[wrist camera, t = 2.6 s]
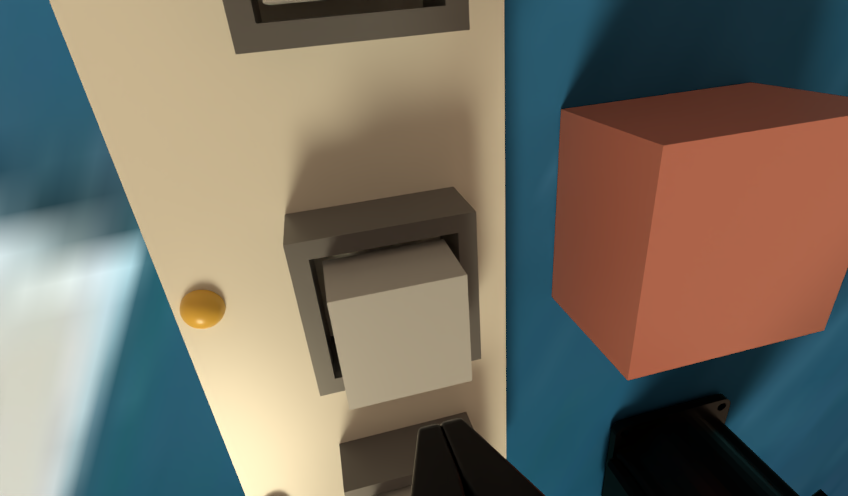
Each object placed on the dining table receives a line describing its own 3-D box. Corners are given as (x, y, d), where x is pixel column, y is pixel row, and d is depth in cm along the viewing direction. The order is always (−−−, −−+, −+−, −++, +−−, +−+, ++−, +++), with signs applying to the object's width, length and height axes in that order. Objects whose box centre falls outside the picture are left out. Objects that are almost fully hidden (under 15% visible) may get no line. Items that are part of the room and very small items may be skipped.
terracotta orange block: (751, 82, 17) (908, 105, 13) (710, 262, 20) (823, 330, 16) (561, 109, 16) (662, 145, 11) (551, 296, 19) (627, 380, 15)
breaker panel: (471, -229, 11) (548, -336, 8) (489, 455, 22) (526, 537, 19) (3, -226, 10) (-164, -362, 6) (273, 514, 21) (268, 616, 17)
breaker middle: (443, 238, 13) (467, 275, 11) (450, 335, 14) (472, 380, 12) (322, 261, 12) (326, 302, 10) (342, 358, 13) (349, 410, 12)
